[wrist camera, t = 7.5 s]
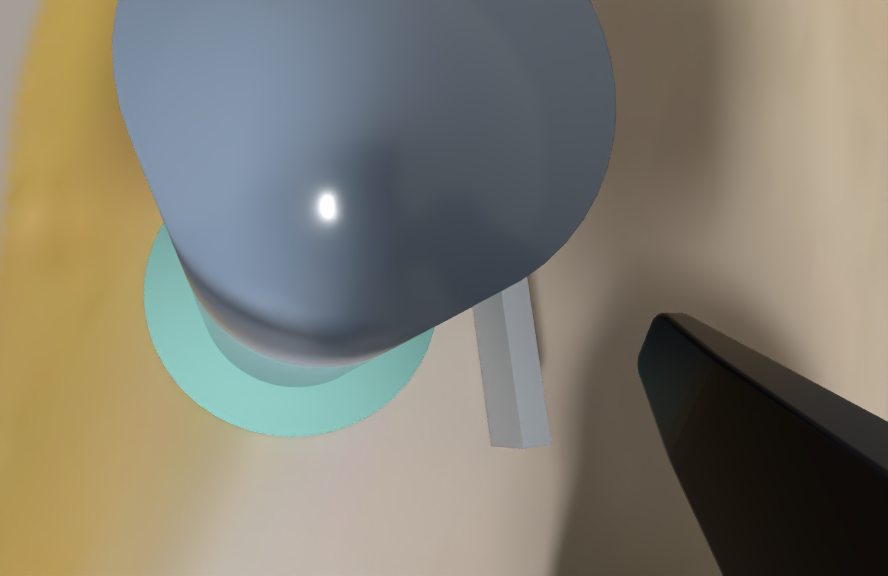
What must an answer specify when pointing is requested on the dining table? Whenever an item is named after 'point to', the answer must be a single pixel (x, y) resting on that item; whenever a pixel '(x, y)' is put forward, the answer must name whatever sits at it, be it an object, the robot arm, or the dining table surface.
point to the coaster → (245, 396)
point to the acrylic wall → (511, 369)
